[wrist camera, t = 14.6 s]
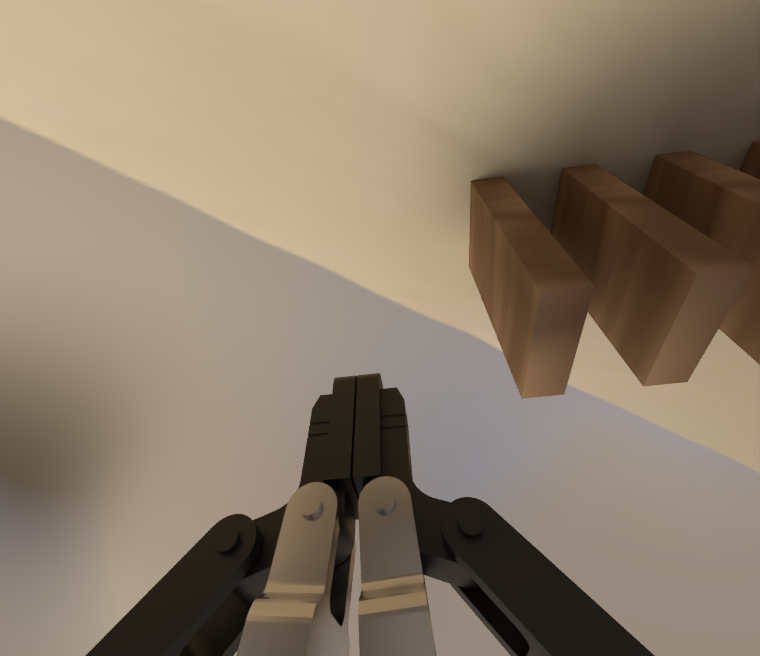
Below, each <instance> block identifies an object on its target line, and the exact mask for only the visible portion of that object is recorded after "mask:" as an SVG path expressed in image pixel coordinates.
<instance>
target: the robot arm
mask: <svg viewBox="0 0 760 656" xmlns="http://www.w3.org/2000/svg"><path fill="white" fill-rule="evenodd" d="M356 519H359V535H360V557H361V558H360V559H361V586H362V589H361V595H360V598H359V614H358V615H359V646H360V656H437V655H436V649H435V642H434V637H433V630H432V624H431V618H430V611H429V605H428V599H427V592H426V587H425V579H424V575H427V576H429V577H433V578H435V579H438V580H442V581H444V582H447V583H450V584H451V585H452V587H453V588H454V589H455V590H456V592H457V593H458V594H459V595H460V596H461V598H462V599H463V600H464V601H465V602H466V603H467V605H468V606H469V607H470V608H471V609H472V610H473V612H474V613H475V614H476V615H477V616H478V618H479V619H480V620H481V621H482V622H483V623H484V625H485V626H486V627H487V628H488V629H489V630H490V632H491V633H492V634H493V635H494V636H495V638H496V639H497V640H498V641H499V642H500V643H501V645H502V646H503V647H504V648H505V649H506V650H507V652H508V653H509V654H510V655H511V656H654V655H653V654H652V653H651V652H650V651H649V650H648V649H646V648H645V647H644V646H643V645H642V644H641V643H640V642H639V641H638V640H637V639H635V638H634V637H633V636H632V635H631V634H630V633H629V632H627V630H626V629H624V628H623V627H622V626H621V625H620V624H619V623H618V622H617V621H616V620H615V619H613V618H612V617H611V616H610V615H609V614H608V613H607V612H606V611H604V610H603V609H602V608H601V607H600V606H599V605H598V604H597V603H596V602H595V601H594V600H592V599H591V598H590V597H589V596H588V595H587V594H586V593H585V592H583V590H581V589H580V588H579V587H578V586H577V585H576V584H575V583H574V582H572V581H571V580H570V579H569V578H568V577H567V576H566V575H565V574H564V573H562V571H561V570H559V569H558V568H557V567H556V566H555V565H554V564H553V563H552V562H551V561H549V560H548V559H547V558H546V557H545V556H544V555H543V554H542V553H541V552H540V551H538V550H537V549H536V548H535V547H534V546H533V545H532V544H531V543H530V542H529V541H527V540H526V539H525V538H524V537H523V536H522V535H521V534H520V533H519V532H518V531H516V530H515V529H514V528H513V527H512V526H511V525H510V524H509V523H508V522H507V521H505V520H504V519H503V518H502V517H501V516H500V515H499V514H497V512H495V511H494V510H493V509H492V508H491V507H490V506H489V505H488V504H486V503H485V502H483V501H481V500H479V499H476V498H472V497H464V498H459V499H456V500H455V501H453V502H447V501H443V500H439V499H436V498H432V497H429V496H427V495H426V494H424V493H422V492H421V491H420V490H419V489H418V488H417V487H416V485H415V484H414V482H413V478H412V466H411V455H410V444H409V431H408V423H407V416H406V409H405V402H404V399H403V397H402V395H401V394H400V392H399V390H398V389H397V388H388V389H383V385H382V380H381V375H380V373H377V374H366V375H358V377H357V376H348V377H339V378H335V379H334V384H333V393H332V394H330V395H320V397H319V399H318V400H317V402H316V403H315V405H314V407H313V409H312V415H311V420H310V426H309V433H308V439H307V445H306V451H305V457H304V463H303V470H302V476H301V482H300V485H299V488H298V490H297V491H296V492H295V493H294V494H293V495H292V496H291V498H290V500H289V501H288V503H287V504H286V505H284V506H283V507H282V508H280V509H278V510H276V511H274V512H271V513H269V514H267V515H264V516H262V517H260V518H257V519H255V520H253V521H252V520H251V518H249V517H248V516H246V515H243V514H234V515H230V516H227V517H226V518H224V519H222V520H220V521H219V522H218V523H216V524H215V525H214V526H213V527H212V528H211V529H210V530H209V531H208V532H207V533H206V534H205V535H204V536H203V537H202V538H201V539H200V540H199V541H198V542H197V543H196V544H195V546H194V547H192V548H191V550H189V552H188V553H187V554H186V555H185V556H184V557H183V558H182V559H181V560H180V561H179V562H178V563H177V564H176V565H175V566H174V567H173V568H172V569H171V570H170V571H169V572H168V573H167V574H166V575H165V576H164V577H163V578H162V579H161V580H160V581H159V582H158V583H157V584H156V585H155V586H154V587H153V588H152V589H151V590H150V591H149V592H148V593H147V594H146V595H145V596H144V597H143V598H142V599H141V600H140V601H139V602H138V603H137V604H136V605H135V606H134V607H133V608H132V609H131V610H130V611H129V613H127V615H125V616H124V617H123V618H122V620H120V621H119V622H118V623H117V624H116V625H115V626H114V627H113V628H112V630H111V631H110V632H109V633H108V634H107V635H106V636H105V637H104V638H103V639H102V640H101V641H100V642H99V643H98V644H97V645H96V646H95V647H94V648H93V649H92V650H91V651H90V652H89V653H88V654H87V655H86V656H233V655H234V654H235V653H236V652H237V655H236V656H349V635H348V619H349V610H350V600H351V591H352V581H353V571H354V561H355V552H356V543H355V520H356ZM237 650H238V651H237Z"/></svg>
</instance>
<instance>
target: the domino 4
mask: <svg viewBox="0 0 760 656" xmlns="http://www.w3.org/2000/svg"><path fill="white" fill-rule="evenodd" d="M740 171H741V172H743V173H745V174H748V175H750V176H753V177H755V178H758V179H760V141H755V142H753V143H752V146H751V148H750V150H749V152H748V154H747V156H746V158H745V161H744V163H743V165H742V167H741V169H740Z"/></svg>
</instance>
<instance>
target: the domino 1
mask: <svg viewBox="0 0 760 656" xmlns="http://www.w3.org/2000/svg"><path fill="white" fill-rule="evenodd" d="M469 268H470V270H471V273H472V275H473V278H474V280H475V283H476V285H477V288H478V290H479V293H480V295H481V298H482V300H483V303H484V305H485V308H486V310H487V313H488V315H489V318H490V320H491V323H492V325H493V328H494V330H495V333H496V335H497V338H498V340H499V343H500V345H501V348H502V350H503V353H504V355H505V358H506V360H507V363H508V365H509V368H510V370H511V373H512V375H513V378H514V380H515V383H516V385H517V387H518V390H519V392H520V395H521V398H532V397H542V396H552V395H562V394H564V393H565V389H566V386H567V382H568V379H569V375H570V372H571V368H572V365H573V361H574V358H575V354H576V351H577V347H578V343H579V340H580V336H581V333H582V329H583V326H584V322H585V319H586V315H587V312H588V308H589V304H590V301H591V297H592V294H593V290H594V287H595V286H594V285H593V283H592V282H591V281H590V280H589V279H588V277H587V276H586V275H585V274H584V273H583V271H582V270H581V269H580V268H579V267H578V265H577V264H576V263H575V262H574V261H573V260H572V258H571V257H570V256H569V255H568V254H567V252H566V251H565V250H564V249H563V248H562V246H561V245H560V244H559V243H558V242H557V240H556V239H555V238H554V237H553V236H552V235H551V233H550V232H549V231H548V230H547V229H546V227H545V226H544V225H543V224H542V223H541V221H540V220H539V219H538V218H537V217H536V215H535V214H534V213H533V212H532V211H531V210H530V208H529V207H528V206H527V205H526V204H525V202H524V201H523V200H522V199H521V198H520V196H519V195H518V194H517V193H516V192H515V190H514V189H513V188H512V187H511V186H510V185H509V183H508V182H507V181H506V180H505V179H504V177H498V178H491V179H484V180H477V181H471V207H470V246H469Z"/></svg>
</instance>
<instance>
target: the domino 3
mask: <svg viewBox="0 0 760 656" xmlns="http://www.w3.org/2000/svg"><path fill="white" fill-rule="evenodd" d="M644 196H646V197H647V198H649V199H650V200H652V201H653V202H655V203H656V204H658V205H659V206H661V207H663V208H664V209H666V210H667V211H669V212H670V213H672V214H673V215H675V216H677V217H678V218H680V219H681V220H683V221H684V222H686V223H687V224H689V225H690V226H692V227H694V228H695V229H697V230H698V231H700V232H701V233H703V234H704V235H706V236H708V237H709V238H711V239H712V240H714V241H715V242H717V243H718V244H720V245H722V246H723V247H725V248H726V249H728V250H729V251H731V252H732V253H734V254H735V255H737V256H739V257H740V258H742V259H743V260H745V261H746V262H748V263H749V264H751V265H753V266H754V269H753V270H752V272H751V274H750V275H749V277H748V279H747V281H746V282H745V284H744V286H743V287H742V289H741V291H740V293H739V294H738V296H737V298H736V299H735V301H734V303H733V305H732V306H731V308H730V310H729V311H728V313H727V315H726V317H725V318H724V320H723V322H722V323H721V325H720V327H719V329H720V330H721V331H722V332H723V333H725V334H726V335H727V336H728V337H729V338H730V339H731V340H733V341H734V342H735V343H736V344H737V345H738V346H739V347H740V348H742V349H743V350H744V351H745V352H746V353H747V354H748V355H749V356H751V357H752V358H753V359H754V360H755V361H756V362H757V363H758V364H760V179H758V178H755V177H753V176H750V175H748V174H745V173H743V172H741V171H738V170H736V169H733V168H731V167H729V166H726V165H724V164H721V163H719V162H716V161H714V160H712V159H709V158H707V157H704V156H702V155H699V154H697V153H695V152H692V151H684V152H677V153H670V154H662V155H656V158H655V161H654V164H653V167H652V170H651V173H650V176H649V179H648V182H647V186H646V189H645V192H644Z"/></svg>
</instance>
